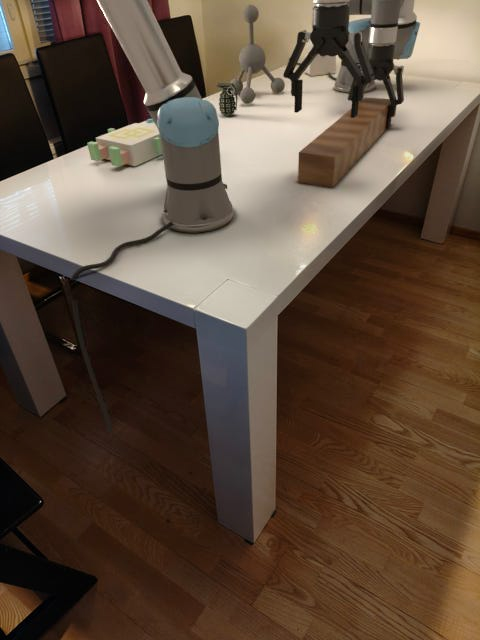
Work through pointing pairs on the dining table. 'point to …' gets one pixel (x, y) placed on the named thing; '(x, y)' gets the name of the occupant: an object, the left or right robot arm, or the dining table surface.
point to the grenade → (227, 99)
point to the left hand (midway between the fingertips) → (325, 113)
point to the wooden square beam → (342, 144)
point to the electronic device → (320, 61)
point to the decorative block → (128, 144)
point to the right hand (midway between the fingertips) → (372, 126)
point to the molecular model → (253, 62)
